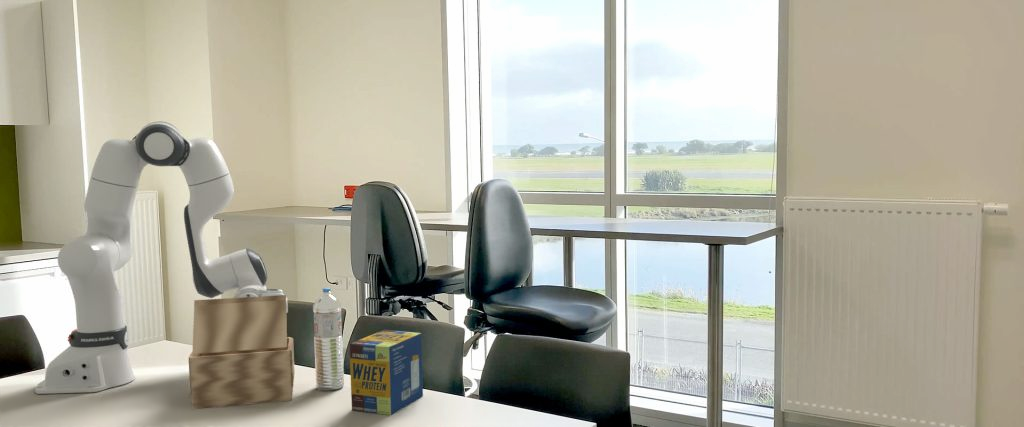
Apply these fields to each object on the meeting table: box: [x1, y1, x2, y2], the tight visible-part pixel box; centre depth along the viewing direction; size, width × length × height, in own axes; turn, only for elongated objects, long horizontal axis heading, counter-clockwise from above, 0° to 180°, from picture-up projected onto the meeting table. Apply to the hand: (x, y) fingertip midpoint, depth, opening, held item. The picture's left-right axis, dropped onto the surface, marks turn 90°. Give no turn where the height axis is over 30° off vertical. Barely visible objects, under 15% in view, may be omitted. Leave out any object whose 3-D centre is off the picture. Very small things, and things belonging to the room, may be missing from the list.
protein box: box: [349, 329, 424, 416], centre depth 181 cm, size 10×15×16 cm
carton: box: [188, 336, 296, 410], centre depth 189 cm, size 23×14×12 cm, turn 104°
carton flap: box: [191, 294, 288, 354], centre depth 185 cm, size 21×13×1 cm
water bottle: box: [312, 287, 345, 392], centre depth 194 cm, size 7×7×25 cm
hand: (245, 312), depth 196 cm, fingers closed
